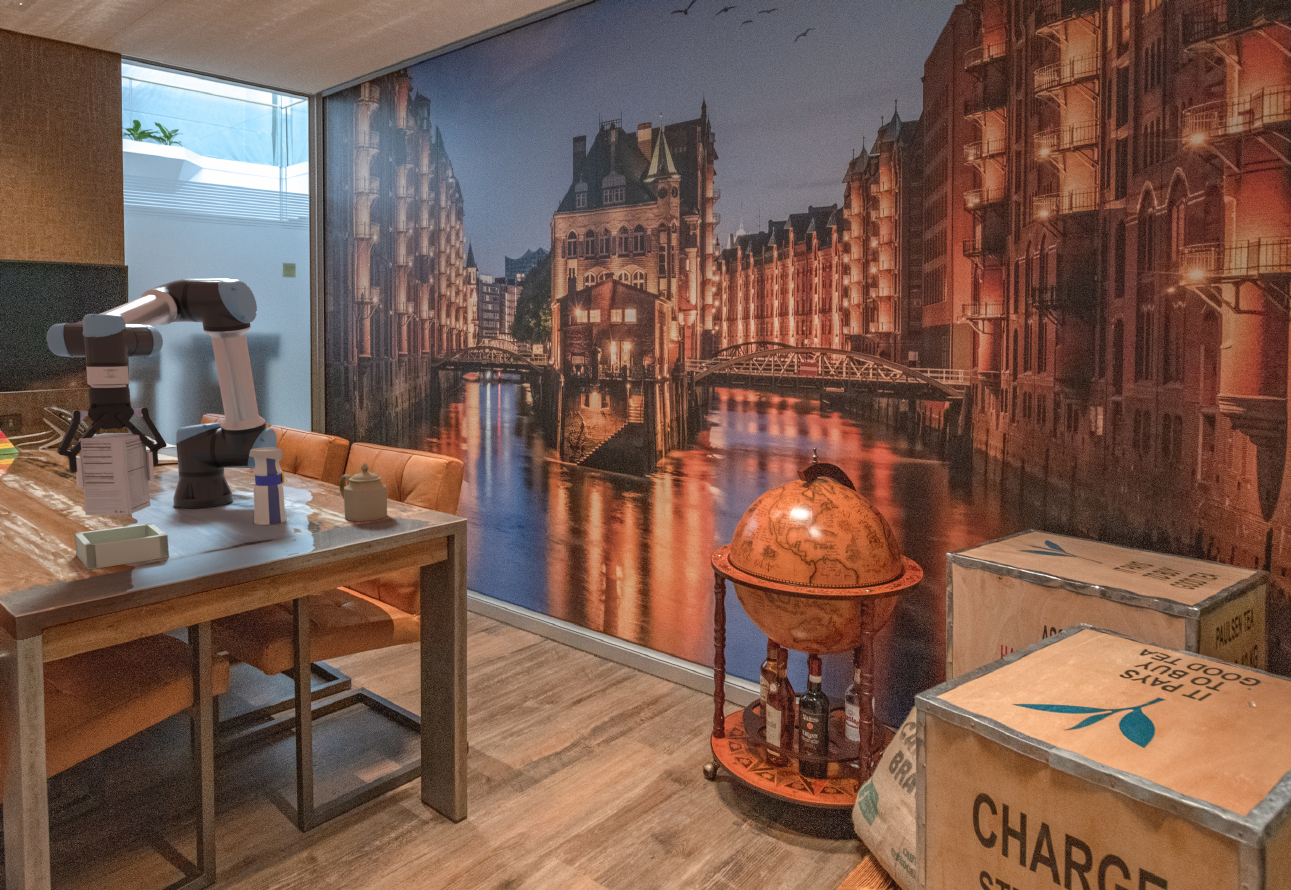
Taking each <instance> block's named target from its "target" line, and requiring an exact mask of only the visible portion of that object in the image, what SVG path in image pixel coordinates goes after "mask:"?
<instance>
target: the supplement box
mask: <svg viewBox="0 0 1291 890" xmlns="http://www.w3.org/2000/svg"><path fill="white" fill-rule="evenodd" d="M143 434H144V435H145V436H146V433H143ZM80 438H81V437H80ZM80 438H79V439H78V440H79V442H80V441H81V451H80V452H79V457H81V467H82V479H83V488H82V490H83V500H84V502H83V503H84V513H85V516H130V515H131V514H135V513H136V512H139V511H141V510H144V509H146V508H148V507H151V494H150V482H149V481H150V480H148V467H147V454H146V451H147V446H146V445H145V444H144V443H143V442H142V441H141V440H140V438H139V435H135V434H133V433H132V432H130V433H129V432H128V433H126V432H121V433H119V432H115V433H114V432H104V433H100V434H98V433H97V434H94V435H93V436H92V438H84V439H82V438H81V439H80Z"/></svg>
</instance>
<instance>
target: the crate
mask: <svg viewBox="0 0 1291 890" xmlns="http://www.w3.org/2000/svg"><path fill="white" fill-rule="evenodd" d="M168 539H169V538H168V534H166V532H164V531H162V530H161V529H160V528H159V527H157V526H156V525H155V524H154V523H151V522H149V523H142V524H135V525H127V526H120V527H113V528H104V529H103V528H102V529H95V530H89V531H82V532H81V531H80V532H74V544H75V552H76V553H75V554H76V556H77V558H78V559H79V560H80V562H81V563H82V564H83V565H84V566H85V568H86V569H87V570H95V569H102V568H108V567H113V566H121V565H127V564H133V563H141V562H145V561H152V560H158V559H159V560H161V559H165V558H170V553H169V552H170V550H169V540H168Z"/></svg>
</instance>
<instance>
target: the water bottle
mask: <svg viewBox="0 0 1291 890" xmlns="http://www.w3.org/2000/svg"><path fill="white" fill-rule="evenodd" d="M280 430H281V437H282V439H284V433H283V432H284V431H283V427H281V428H280ZM283 452H284V451H283V448H282V449H279V448H278V447H277V448H275V447H265V448H255V449H251V450H250V454H249V456H250V457H254V460H255V468H254V469H253V472H252V474H253V475H254V481H255V482H254V483H255V484H254V486H253V487H254V488H253V503H254V504H253V506H254V507H253V508H254V512H253V513H254V514H253V515H254V517H253V519H254V520H253V522H254V524H256V525H260V526H263V525H276V524H281V523H285V522H287V516H286V514H287V513H286V508H285V493H284V487H283V484H284V482H285V474H284V472H283V470H282V467H281V466H280V461H281V462H283V461H282V456H283Z"/></svg>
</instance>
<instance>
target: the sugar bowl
mask: <svg viewBox="0 0 1291 890" xmlns="http://www.w3.org/2000/svg"><path fill="white" fill-rule="evenodd" d="M360 470H361V472H359V473H355V474H353V475H352V476H351V475H350V474H348V473H347V474H343V475H341V476H340V477H339V480H338V481H339V482H338V486H339V487H338V488H339V492H340V495H341V497H342V499H343V505H344V518H345V520H347V521H349V522H350V521H351V522H352V521H353V522H371V521H373V522H374V521H378V519H379V520H382V519H384V518H386V517H387V516H388V490H387V489H388V488H387V484H384V483H382V482H381V480H382V477H381V476H379V475H378V474H377V473H374V472H370V471H369V465H368V464H367V463H366V462H363V463H362V465H361V466H360ZM346 483H347V485H346Z"/></svg>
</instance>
